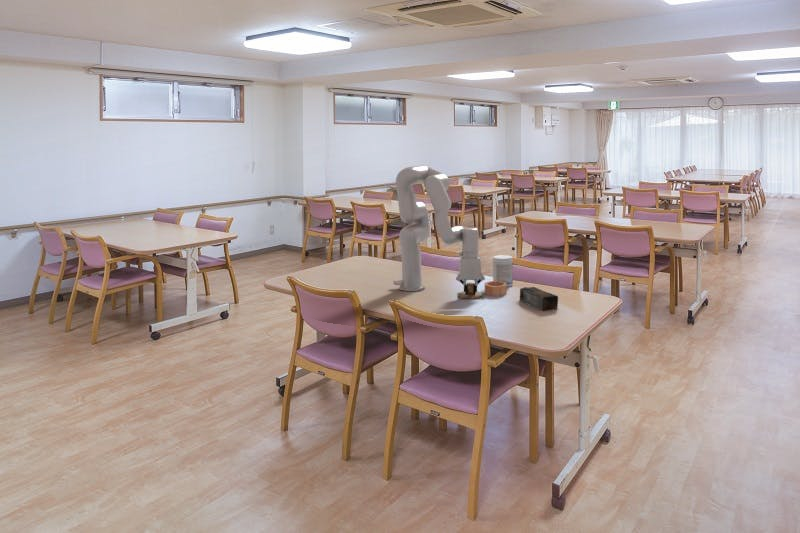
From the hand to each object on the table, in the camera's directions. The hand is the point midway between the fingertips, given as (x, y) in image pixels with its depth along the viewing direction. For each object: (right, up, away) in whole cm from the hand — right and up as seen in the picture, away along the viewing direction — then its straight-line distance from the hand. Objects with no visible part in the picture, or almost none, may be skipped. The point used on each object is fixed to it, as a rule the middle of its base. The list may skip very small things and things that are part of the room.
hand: (470, 293), depth 281 cm
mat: (0, -2, 0) cm, 2 cm away
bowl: (+12, -1, +4) cm, 13 cm away
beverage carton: (+28, -5, -14) cm, 32 cm away
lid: (0, -1, 0) cm, 1 cm away
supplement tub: (+18, +3, +20) cm, 27 cm away
